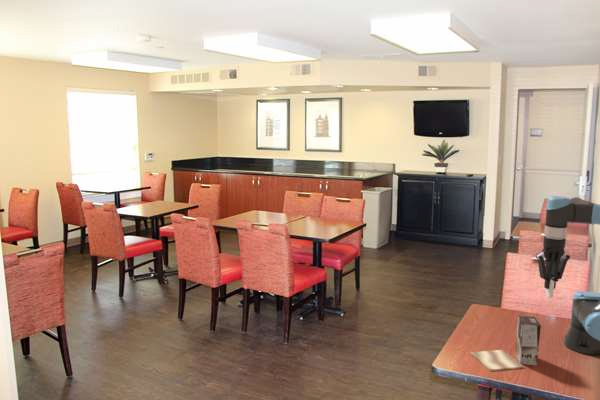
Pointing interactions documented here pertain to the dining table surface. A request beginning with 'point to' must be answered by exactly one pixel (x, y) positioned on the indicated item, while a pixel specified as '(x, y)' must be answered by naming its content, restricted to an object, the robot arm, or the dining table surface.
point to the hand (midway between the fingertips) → (548, 296)
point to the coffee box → (527, 340)
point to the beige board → (496, 360)
